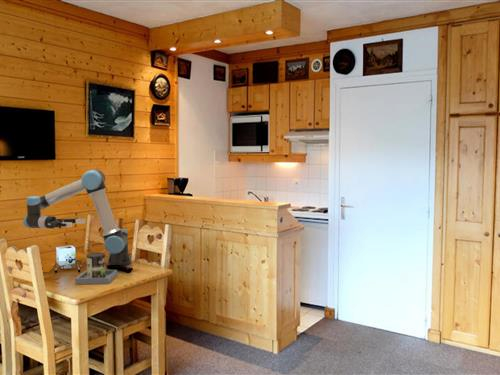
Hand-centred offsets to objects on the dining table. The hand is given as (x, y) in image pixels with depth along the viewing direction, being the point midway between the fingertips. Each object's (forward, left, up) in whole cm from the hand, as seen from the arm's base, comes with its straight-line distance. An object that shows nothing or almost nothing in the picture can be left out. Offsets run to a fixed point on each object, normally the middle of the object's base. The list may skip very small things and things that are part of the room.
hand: (78, 223), depth 274 cm
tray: (+12, +14, -31) cm, 36 cm away
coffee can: (+12, +14, -31) cm, 36 cm away
